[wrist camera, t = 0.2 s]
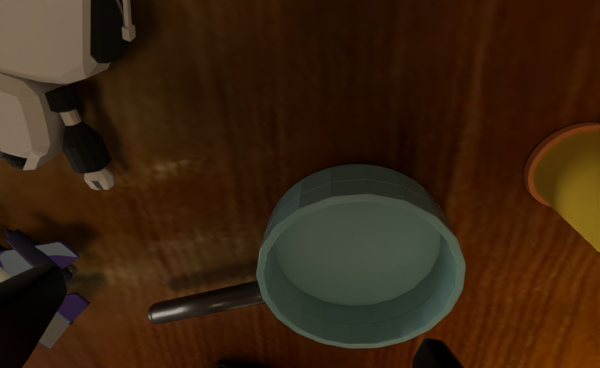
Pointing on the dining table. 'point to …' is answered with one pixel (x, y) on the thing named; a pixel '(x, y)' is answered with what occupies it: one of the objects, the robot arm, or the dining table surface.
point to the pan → (359, 258)
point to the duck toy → (569, 177)
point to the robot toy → (56, 79)
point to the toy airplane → (33, 253)
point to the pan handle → (206, 303)
